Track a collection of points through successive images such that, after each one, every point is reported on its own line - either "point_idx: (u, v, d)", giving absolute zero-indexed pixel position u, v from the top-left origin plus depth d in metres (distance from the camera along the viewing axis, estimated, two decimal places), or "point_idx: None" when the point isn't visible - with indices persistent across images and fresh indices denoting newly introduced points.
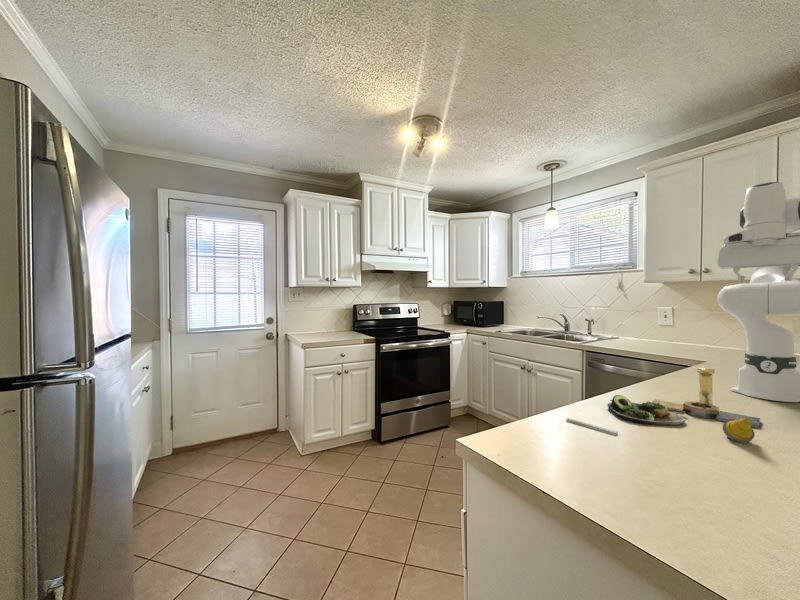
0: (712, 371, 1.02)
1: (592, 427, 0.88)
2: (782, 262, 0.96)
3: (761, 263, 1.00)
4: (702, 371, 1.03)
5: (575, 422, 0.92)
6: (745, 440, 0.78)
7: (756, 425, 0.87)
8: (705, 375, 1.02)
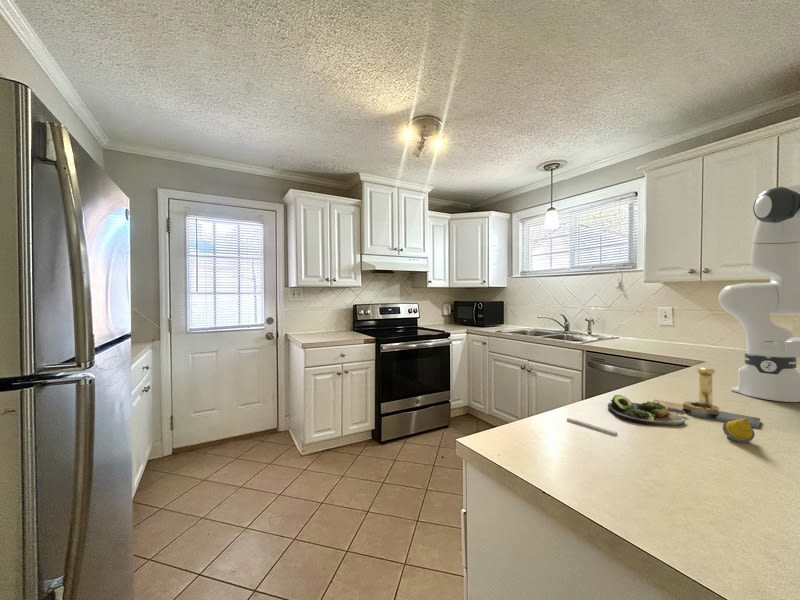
0: (712, 371, 1.02)
1: (592, 427, 0.88)
2: None
3: None
4: (702, 371, 1.03)
5: (575, 422, 0.92)
6: (745, 440, 0.78)
7: (756, 425, 0.87)
8: (705, 375, 1.02)
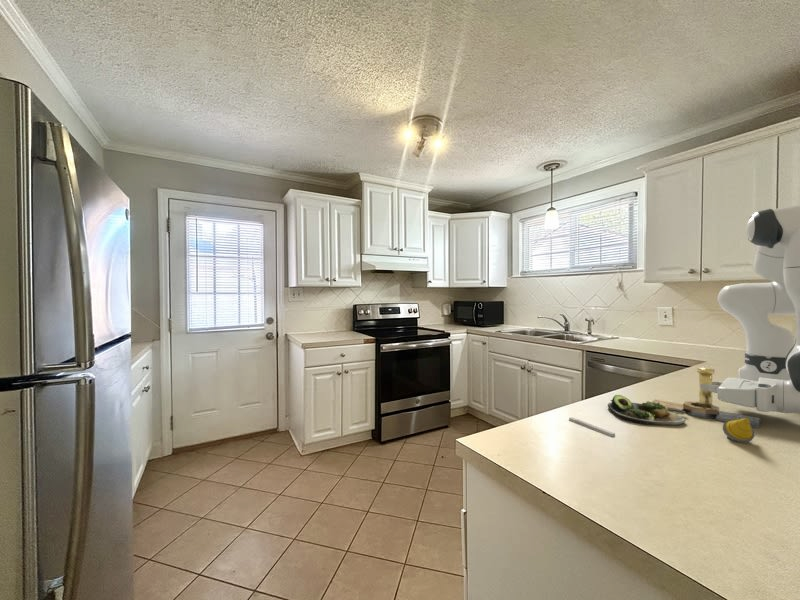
0: (712, 371, 1.02)
1: (591, 427, 0.88)
2: None
3: None
4: (702, 371, 1.03)
5: (576, 421, 0.92)
6: (745, 440, 0.78)
7: (756, 425, 0.87)
8: (705, 375, 1.02)
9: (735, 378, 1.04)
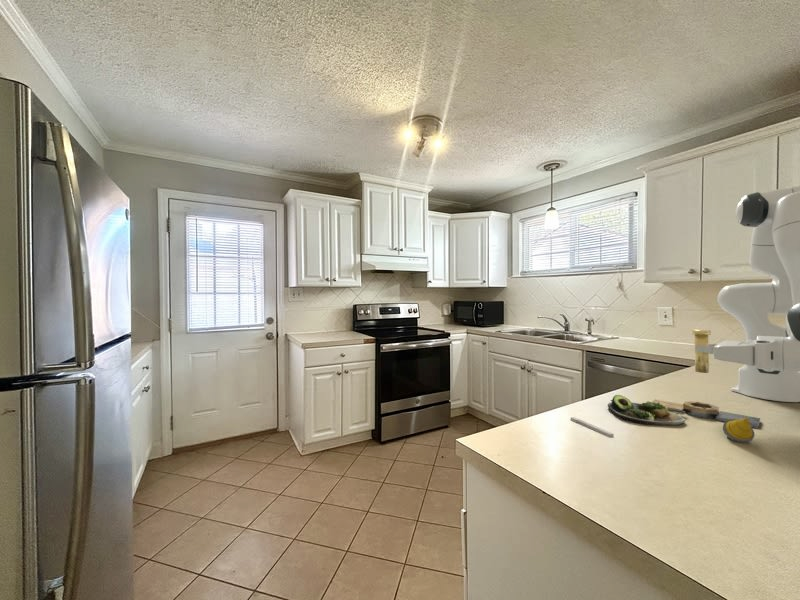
0: (708, 332, 0.97)
1: (591, 427, 0.88)
2: None
3: None
4: (698, 332, 0.98)
5: (577, 421, 0.92)
6: (745, 440, 0.78)
7: (756, 425, 0.87)
8: (701, 337, 0.98)
9: (732, 341, 1.00)
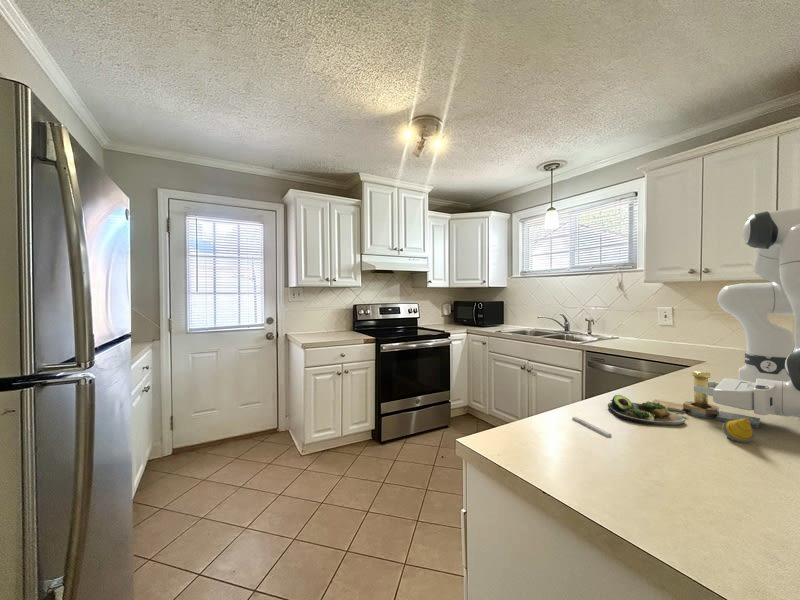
0: (708, 375, 0.97)
1: (590, 427, 0.88)
2: None
3: None
4: (697, 375, 0.98)
5: (578, 421, 0.93)
6: (745, 440, 0.78)
7: (756, 425, 0.87)
8: (700, 379, 0.97)
9: (732, 379, 0.99)
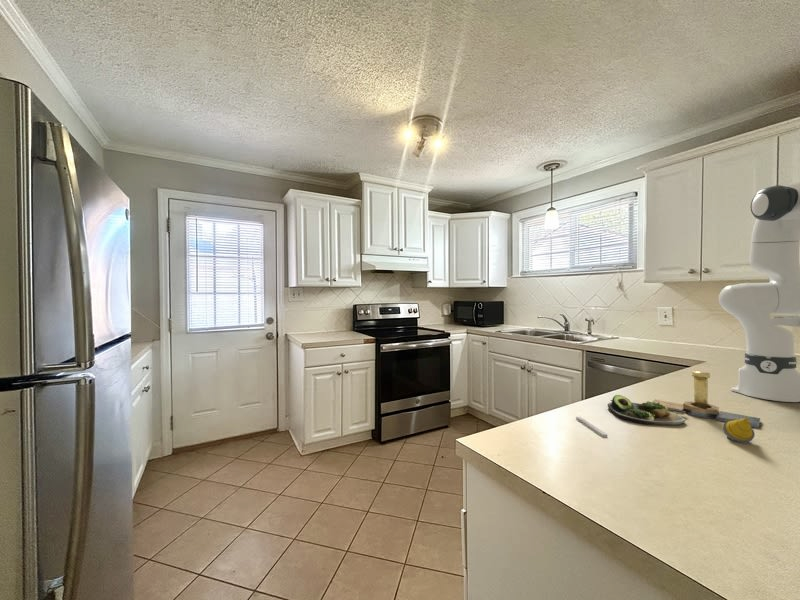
0: (707, 375, 0.96)
1: (590, 427, 0.88)
2: None
3: None
4: (697, 375, 0.97)
5: (581, 421, 0.93)
6: (745, 440, 0.78)
7: (756, 425, 0.87)
8: (700, 379, 0.97)
9: None
